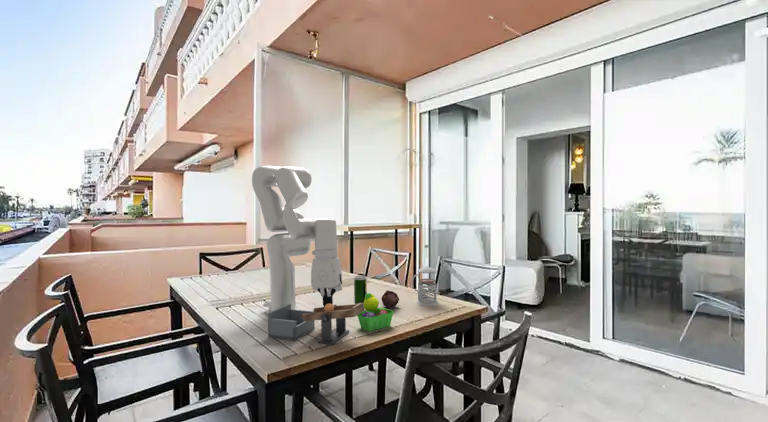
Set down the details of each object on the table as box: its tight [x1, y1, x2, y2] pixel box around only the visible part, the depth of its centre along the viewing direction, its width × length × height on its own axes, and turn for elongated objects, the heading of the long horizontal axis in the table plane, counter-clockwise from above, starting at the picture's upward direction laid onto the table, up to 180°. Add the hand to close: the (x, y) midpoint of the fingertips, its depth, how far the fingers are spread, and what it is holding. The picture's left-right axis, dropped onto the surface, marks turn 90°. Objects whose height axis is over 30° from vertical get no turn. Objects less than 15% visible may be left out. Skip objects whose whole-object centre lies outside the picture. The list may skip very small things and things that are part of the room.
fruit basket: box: [356, 292, 395, 332], centre depth 129 cm, size 11×9×11 cm
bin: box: [267, 304, 316, 342], centre depth 123 cm, size 10×12×8 cm
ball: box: [324, 303, 334, 312], centre depth 119 cm, size 3×3×3 cm
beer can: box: [353, 274, 368, 304], centre depth 158 cm, size 5×5×12 cm
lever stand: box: [317, 315, 350, 346], centre depth 118 cm, size 5×13×8 cm, turn 161°
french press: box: [411, 244, 440, 307], centre depth 159 cm, size 10×12×25 cm
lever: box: [302, 303, 365, 322], centre depth 122 cm, size 18×16×2 cm
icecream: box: [380, 290, 400, 309], centre depth 153 cm, size 7×7×15 cm
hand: (327, 307), depth 127 cm, fingers closed
